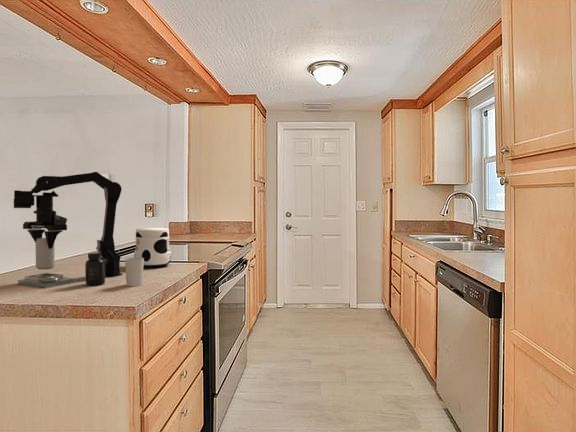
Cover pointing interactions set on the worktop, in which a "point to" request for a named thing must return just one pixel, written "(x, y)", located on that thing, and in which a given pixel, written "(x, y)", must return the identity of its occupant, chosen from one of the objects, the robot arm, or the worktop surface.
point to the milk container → (153, 246)
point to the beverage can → (44, 255)
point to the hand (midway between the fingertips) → (45, 248)
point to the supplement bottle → (95, 269)
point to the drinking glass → (134, 271)
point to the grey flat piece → (46, 280)
